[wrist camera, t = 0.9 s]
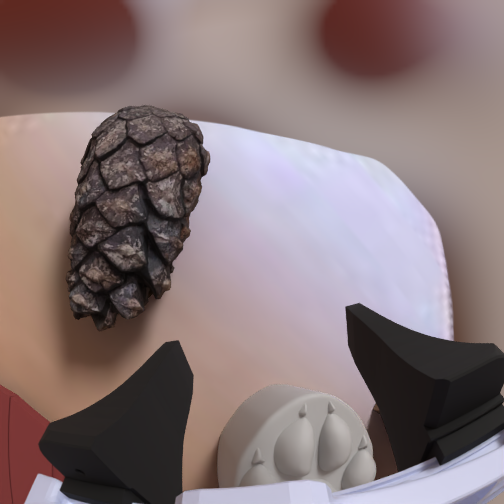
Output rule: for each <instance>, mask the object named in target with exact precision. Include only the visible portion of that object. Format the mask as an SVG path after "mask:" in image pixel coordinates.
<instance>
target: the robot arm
mask: <svg viewBox="0 0 504 504" xmlns="http://www.w3.org/2000/svg"><path fill="white" fill-rule="evenodd" d="M345 308H346V320H347V334H348V346H349V349H350V351H351V354H352V357H353V359H354V362H355V364H356V366H357V368H358V370H359V372H360V374H361V375H362V377H363V379H364V381H365V383H366V385H367V386H368V388H369V390H370V392H371V394H372V396H373V398H374V400H375V402H376V404H377V406H378V408H379V411H380V414H381V416H382V419H383V422H384V425H385V428H386V431H387V434H388V437H389V440H390V443H391V446H392V450H393V453H394V457H395V460H396V464H397V468H398V473H395V474H393V475H390V476H387V477H384V478H381V479H378V480H375V481H372V482H369V483H366V484H363V485H359V486H356V487H352V488H349V489H345V490H341V491H337V492H333V493H332V491H331V489H330V488H329V487H328V486H327V485H326V483H323V482H319V481H313V480H297V481H286V482H280V483H273V484H265V485H256V486H246V487H234V488H214V489H196V490H188V491H185V492H183V493H182V456H183V441H184V434H185V429H186V424H187V419H188V414H189V410H190V405H191V399H192V394H193V373H192V371H191V368H190V366H189V364H188V362H187V359H186V357H185V355H184V352H183V350H182V347H181V345H180V342H179V340H177V341H170V342H165V343H164V344H163V345H162V346H161V347H160V348H159V349H158V350H157V351H156V352H155V353H154V354H153V355H152V356H151V357H150V358H149V359H148V360H147V361H146V362H145V363H144V364H143V365H142V366H141V367H140V368H139V369H138V370H137V371H136V372H135V373H134V374H133V375H132V376H131V377H130V378H129V379H127V380H126V381H125V382H124V383H123V384H122V385H121V386H119V387H118V388H117V389H115V390H114V391H113V392H111V393H110V394H109V395H107V396H106V397H104V398H103V399H101V400H99V401H98V402H96V403H95V404H93V405H91V406H89V407H88V408H86V409H84V410H82V411H80V412H77V413H75V414H73V415H71V416H68V417H66V418H63V419H60V420H57V421H55V422H51V423H49V425H48V427H47V428H46V430H45V432H44V434H43V436H42V437H41V439H40V441H39V443H38V445H39V449H40V451H41V453H42V454H43V455H44V457H45V458H46V459H47V460H48V461H49V462H50V463H51V464H52V465H53V466H54V467H55V468H56V469H57V470H58V471H59V472H60V473H61V474H62V475H64V476H65V478H64V481H63V482H62V481H60V480H58V479H56V478H53V477H49V476H46V475H43V474H38V475H37V477H36V479H35V481H34V483H33V485H32V488H31V490H30V492H29V494H28V496H27V499H26V501H25V503H24V504H486V503H488V502H489V501H491V500H492V499H494V498H495V497H496V496H498V495H499V494H500V493H502V492H503V491H504V406H503V405H502V403H503V402H504V398H503V396H502V395H501V394H500V391H501V389H502V386H503V384H504V353H503V352H502V351H501V350H500V349H499V348H498V347H497V346H496V345H495V344H493V343H490V344H489V343H463V342H455V341H449V340H444V339H440V338H435V337H431V336H428V335H425V334H422V333H419V332H416V331H413V330H410V329H408V328H406V327H403V326H401V325H399V324H397V323H395V322H393V321H391V320H389V319H387V318H385V317H383V316H381V315H379V314H378V313H376V312H374V311H372V310H371V309H369V308H367V307H365V306H364V305H362V304H360V303H358V304H354V305H350V306H346V307H345Z"/></svg>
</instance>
